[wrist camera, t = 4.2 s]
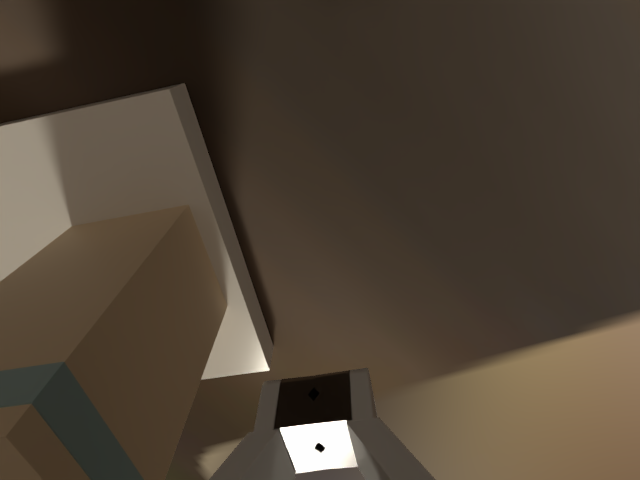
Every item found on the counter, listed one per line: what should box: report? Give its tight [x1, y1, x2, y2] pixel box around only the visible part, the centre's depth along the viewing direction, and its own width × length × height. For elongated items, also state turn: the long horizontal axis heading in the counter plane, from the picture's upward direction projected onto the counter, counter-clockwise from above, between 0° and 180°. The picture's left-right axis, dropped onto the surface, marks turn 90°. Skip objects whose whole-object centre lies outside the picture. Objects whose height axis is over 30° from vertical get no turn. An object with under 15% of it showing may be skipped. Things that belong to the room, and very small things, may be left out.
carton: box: [0, 205, 227, 480], centre depth 15 cm, size 6×6×12 cm
